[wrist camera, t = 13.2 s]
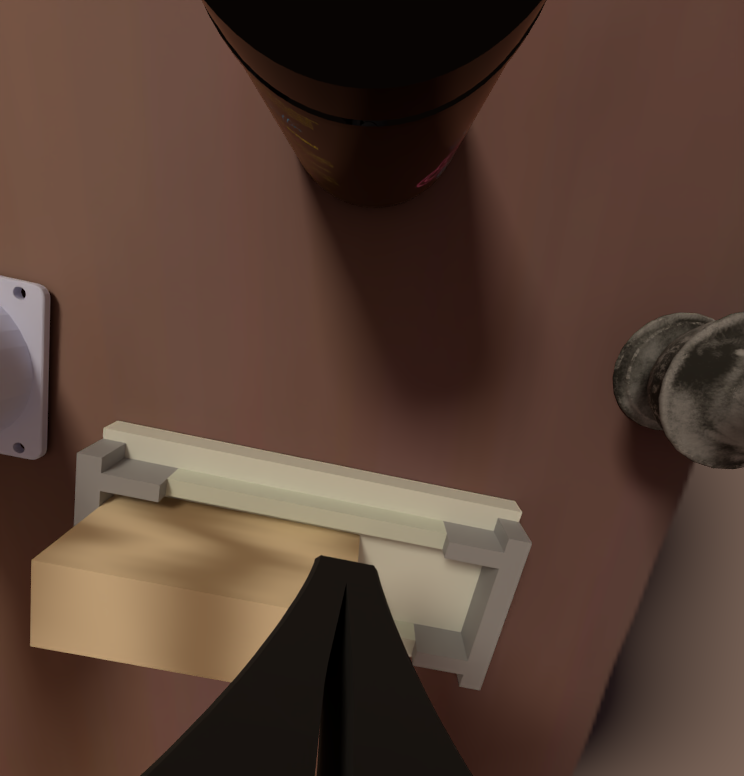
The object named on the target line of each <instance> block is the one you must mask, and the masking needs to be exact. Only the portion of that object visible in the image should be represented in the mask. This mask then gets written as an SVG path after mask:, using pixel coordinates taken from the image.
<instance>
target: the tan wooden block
mask: <svg viewBox="0 0 744 776" xmlns="http://www.w3.org/2000/svg"><path fill="white" fill-rule="evenodd" d="M359 540H360V535H358V534H353V533H348V532H342V531H337V530H332V529H327V528H322V527H317V526H312V525H307V524H302V523H297V522H292V521H287V520H281V519H276V518H271V517H266V516H261V515H256V514H251V513H246V512H241V511H236V510H231V509H225V508H220V507H215V506H210V505H205V504H200V503H195V502H190V501H185V500H180V499H175V498H170V497H163V498H162V499H161V500H160V501H159V502H154V501H149V500H144V499H139V498H134V497H128V496H123V495H118V494H115V495H114V496H112V497H111V498H110V499H108V500H107V501H106V502H105V503H103V504H102V505H101V506H100V507H98V508H97V509H96V510H94V511H93V512H92V513H91V514H89V515H88V516H87V517H86V518H84V519H83V520H82V521H80V522H79V523H78V524H77V525H75V526H74V527H73V528H72V529H70V530H69V531H68V532H66V533H65V534H64V535H63V536H61V537H60V538H59V539H58V540H56V541H55V542H54V543H53V544H51V545H50V546H49V547H47V548H46V549H45V550H44V551H42V552H41V553H40V554H39V555H37V556H36V557H35V558H33V559H32V560H31V623H30V646H32V647H37V648H43V649H48V650H54V651H60V652H65V653H71V654H76V655H82V656H88V657H93V658H99V659H104V660H110V661H115V662H121V663H127V664H132V665H138V666H143V667H149V668H155V669H160V670H166V671H171V672H177V673H182V674H188V675H194V676H199V677H205V678H210V679H216V680H221V681H227V682H232V681H233V680H234V679H235V678H236V676H237V675H238V674H239V673H240V672H241V671H242V669H243V668H244V667H245V666H246V665H247V663H248V662H249V661H250V660H251V658H252V657H253V656H254V655H255V653H256V652H257V651H258V649H259V648H260V647H261V645H262V644H263V643H264V642H265V640H266V639H267V638H268V636H269V635H270V634H271V633H272V631H273V630H274V629H275V627H276V626H277V624H278V623H279V622H280V620H281V619H282V617H283V616H284V614H285V613H286V611H287V610H288V608H289V607H290V605H291V604H292V602H293V601H294V599H295V598H296V596H297V594H298V593H299V591H300V589H301V588H302V586H303V584H304V582H305V581H306V579H307V577H308V575H309V573H310V571H311V568H312V566H313V564H314V560H315V558H317V557H319V556H320V555H323V556H328V557H333V558H338V559H344V560H349V561H354V562H358V555H359Z"/></svg>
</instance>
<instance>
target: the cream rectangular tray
mask: <svg viewBox="0 0 744 776" xmlns="http://www.w3.org/2000/svg"><path fill="white" fill-rule="evenodd" d="M115 494H118V495H123V496H128V497H134V498H139V499H144V500H149V501H154V502H159V501H160V500H161V499H162V498H163V497H170V498H175V499H180V500H185V501H190V502H195V503H200V504H205V505H210V506H215V507H220V508H225V509H231V510H236V511H241V512H246V513H251V514H256V515H261V516H266V517H271V518H276V519H281V520H287V521H292V522H297V523H302V524H307V525H312V526H317V527H322V528H327V529H332V530H337V531H342V532H348V533H353V534H358V535H360V540H359V555H358V562H359V563H364V564H369V565H374V566H375V568H376V569H377V571H378V575H379V579H380V582H381V585H382V589H383V592H384V595H385V598H386V601H387V603H388V606H389V609H390V612H391V614H392V617H393V620H394V622H395V625H396V627H397V630H398V632H399V634H400V637H401V639H402V642H403V644H404V646H405V649H406V651H407V653H408V656H409V657H412V664H413V666H418V667H423V668H429V669H434V670H440V671H445V672H450V673H456V674H457V678H458V683H459V687H464V688H470V689H475V690H480V689H481V686H482V683H483V681H484V678H485V675H486V672H487V669H488V666H489V664H490V661H491V658H492V655H493V652H494V650H495V647H496V644H497V641H498V638H499V635H500V633H501V630H502V627H503V624H504V621H505V618H506V616H507V613H508V610H509V607H510V604H511V601H512V599H513V596H514V593H515V590H516V587H517V584H518V582H519V579H520V576H521V573H522V570H523V567H524V565H525V562H526V559H527V556H528V553H529V550H530V548H531V545H532V542H531V541H530V539H529V538H528V536H527V534H526V533H525V531H524V529H523V528H522V526H521V524H520V523H519V520H520V517H521V515H522V511H521V510H520V508H519V507H518V505H517V504H516V502H515V501H511V500H506V499H502V498H497V497H492V496H487V495H482V494H477V493H472V492H467V491H462V490H457V489H452V488H447V487H442V486H437V485H432V484H428V483H423V482H418V481H413V480H408V479H403V478H398V477H393V476H388V475H383V474H378V473H373V472H368V471H363V470H358V469H354V468H349V467H344V466H339V465H334V464H329V463H324V462H319V461H314V460H309V459H304V458H299V457H294V456H289V455H285V454H280V453H275V452H270V451H265V450H260V449H255V448H250V447H245V446H240V445H235V444H230V443H225V442H220V441H215V440H211V439H206V438H201V437H196V436H191V435H186V434H181V433H176V432H171V431H166V430H161V429H156V428H151V427H146V426H141V425H137V424H132V423H127V422H122V421H116V422H114V423H112V424H110V425H109V426H107V427H105V428H104V431H103V439H101V440H99V441H98V442H96V443H94V444H92V445H90V446H88V447H87V448H85V449H83V450H81V451H79V452H77V462H76V486H75V510H74V526H75V525H77V524H78V523H79V522H80V521H82V520H83V519H84V518H86V517H87V516H88V515H89V514H91V513H92V512H93V511H94V510H96V509H97V508H98V507H100V506H101V505H102V504H103V503H105V502H106V501H107V500H108V499H110V498H111V497H112V496H114V495H115Z"/></svg>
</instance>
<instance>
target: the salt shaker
mask: <svg viewBox="0 0 744 776" xmlns="http://www.w3.org/2000/svg"><path fill="white" fill-rule="evenodd" d="M613 387H614V394H615V397H616V399H617V402H618V404H619V406H620V408H621V409H622V410H623V411H624V413H625V414H626V415H627V416H628V417H629V418H631V419H632V420H633V421H635V422H636V423H638V424H639V425H642V426H645V427H648V428H651V429H654V430H663V431H664V432H665V435H666V437H667V438H668V440H669V441H670V442H671V443H672V445H673V446H674V447H675V448H676V450H677V451H678V452H680V453H681V454H683V455H684V456H686V457H687V458H689V459H690V460H692V461H693V462H696V463H699V464H702V465H705V466H708V467H711V468H722V469H737V468H742V467H744V312H739V313H734V314H730V315H728V316H726V317H723V318H721V319H719V320H716V321H715V320H714V319H712V318H709V317H706V316H703V315H700V314H697V313H675V314H670V315H665V316H662V317H660V318H658V319H655V320H653V321H651V322H649V323H647V324H646V325H645V326H643V327H642V328H641V329H640V330H638V331H637V332H636V333H634V334H633V336H632V337H631V338H630V339H629V340H628V342H627V343H626V344H625V345H624V347H623V348H622V350H621V352H620V355H619V357H618V359H617V361H616V364H615V369H614V374H613Z"/></svg>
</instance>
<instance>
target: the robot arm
mask: <svg viewBox="0 0 744 776" xmlns="http://www.w3.org/2000/svg"><path fill="white" fill-rule="evenodd" d="M22 288H23V289H24V290H25V292H26V296H25V298H24V297H23V296H22V293H21V290H22ZM49 340H50V293H49V291H48V290H47V288H45V287H44V286H43V285H41V284H38V283H33V282H28V281H24V280H19V279H14V278H10V277H5V276H0V454H4V455H9V456H14V457H20V458H25V459H30V460H35V459H38V458H40V457H42V456H44V455H45V454H46V451H47V426H48V383H49ZM20 443H21V444H22V445H23V446H24V449H23V448H22V447H21V445H20ZM319 728H320V733H319ZM318 737H319V749H318V765H317V776H473V775H472V774H471V772H470V770H469V769H468V767H467V765H466V764H465V762H464V761H463V759H462V757H461V756H460V754H459V752H458V750H457V749H456V747H455V745H454V743H453V742H452V740H451V738H450V736H449V735H448V733H447V731H446V729H445V728H444V726H443V724H442V722H441V720H440V719H439V717H438V715H437V713H436V711H435V709H434V707H433V705H432V703H431V701H430V700H429V698H428V696H427V694H426V692H425V689H424V687H423V685H422V683H421V681H420V679H419V677H418V675H417V673H416V671H415V669H414V667H413V664H412V662H411V660H410V658H409V656H408V653H407V651H406V649H405V646H404V644H403V642H402V639H401V637H400V634H399V632H398V630H397V627H396V625H395V622H394V620H393V617H392V614H391V612H390V609H389V606H388V603H387V601H386V598H385V595H384V592H383V589H382V585H381V582H380V579H379V575H378V571H377V569H376V568H375V566H374V565H369V564H364V563H359V562H354V561H349V560H344V559H338V558H333V557H328V556H323V555H320V556H319V557H317V558H315V560H314V564H313V566H312V568H311V571H310V573H309V575H308V577H307V579H306V581H305V582H304V584H303V586H302V588H301V589H300V591H299V593H298V594H297V596H296V598H295V599H294V601H293V602H292V604H291V605H290V607H289V608H288V610H287V611H286V613H285V614H284V616H283V617H282V619H281V620H280V622H279V623H278V624H277V626H276V627H275V629H274V630H273V631H272V633H271V634H270V635H269V636H268V638H267V639H266V640H265V642H264V643H263V644H262V645H261V647H260V648H259V649H258V651H257V652H256V653H255V655H254V656H253V657H252V658H251V660H250V661H249V662H248V663H247V665H246V666H245V667H244V668H243V669H242V671H241V672H240V673H239V674H238V675H237V676H236V678H235V679H234V680H233V681H232V682H231V683H230V685H229V686H228V687H227V688H226V689H225V690H224V691H223V692H222V694H221V695H220V696H219V697H218V698H217V699H216V700H215V701H214V702H213V704H212V705H211V706H210V707H209V708H208V709H207V710H206V711H205V712H204V713H203V714H202V715H201V716H200V717H199V718H198V719H197V720H196V721H195V722H194V723H193V724H192V725H191V726H190V728H189V729H188V730H187V731H186V732H185V733H184V734H183V735H182V736H181V737H180V738H179V739H178V740H177V741H176V742H175V743H174V744H173V745H172V746H171V747H170V748H169V749H168V750H167V751H166V752H165V753H164V754H163V755H162V756H161V757H160V758H159V759H158V760H157V761H156V762H155V763H153V764H152V765H151V766H150V767H149V768H148V769H147V770H146V771H145V772H144V773H143V774H142V775H141V776H315V767H316V757H317V747H318Z"/></svg>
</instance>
